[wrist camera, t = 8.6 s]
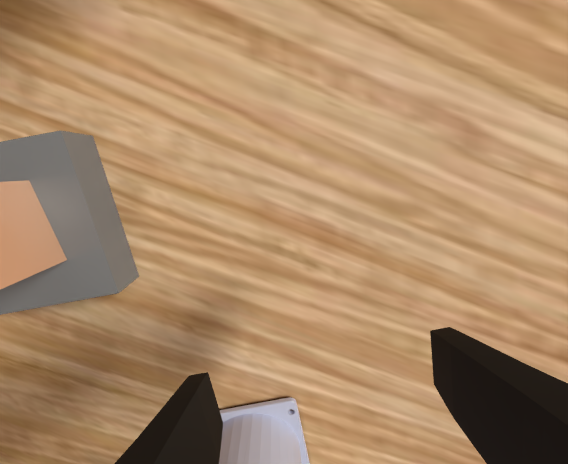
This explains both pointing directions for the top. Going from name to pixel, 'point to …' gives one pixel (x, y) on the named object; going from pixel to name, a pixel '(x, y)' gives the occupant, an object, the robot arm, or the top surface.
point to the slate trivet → (69, 221)
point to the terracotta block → (24, 234)
